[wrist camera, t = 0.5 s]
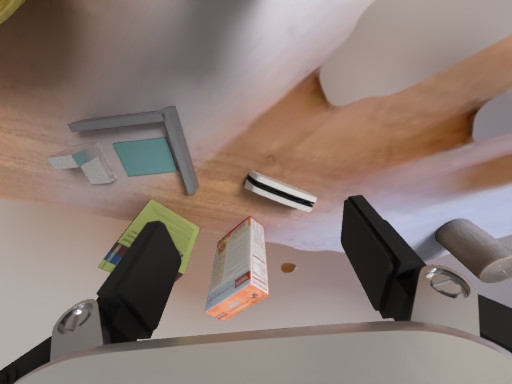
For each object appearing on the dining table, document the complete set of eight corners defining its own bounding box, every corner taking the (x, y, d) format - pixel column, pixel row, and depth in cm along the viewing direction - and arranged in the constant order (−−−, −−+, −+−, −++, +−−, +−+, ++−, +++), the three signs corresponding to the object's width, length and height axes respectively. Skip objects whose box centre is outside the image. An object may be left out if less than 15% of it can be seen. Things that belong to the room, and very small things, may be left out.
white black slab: (242, 186, 51) (246, 196, 41) (249, 168, 50) (254, 174, 40) (300, 207, 54) (316, 221, 45) (307, 191, 54) (325, 201, 44)
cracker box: (232, 251, 63) (223, 323, 45) (217, 241, 60) (202, 313, 43) (265, 226, 58) (270, 297, 40) (250, 214, 55) (248, 284, 38)
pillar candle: (436, 247, 63) (484, 293, 50) (433, 227, 58) (484, 271, 45) (472, 234, 60) (532, 279, 47) (470, 212, 56) (536, 255, 43)
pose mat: (113, 143, 45) (112, 143, 44) (166, 137, 44) (165, 137, 44) (129, 175, 49) (128, 176, 48) (177, 170, 48) (177, 171, 48)
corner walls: (81, 117, 42) (65, 121, 38) (175, 105, 41) (168, 109, 37) (121, 192, 51) (112, 201, 48) (198, 185, 50) (194, 193, 47)
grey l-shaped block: (76, 145, 45) (46, 157, 38) (97, 142, 45) (71, 155, 38) (96, 180, 50) (73, 197, 43) (116, 178, 49) (95, 195, 43)
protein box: (150, 197, 52) (115, 241, 39) (200, 227, 58) (185, 274, 44) (133, 221, 56) (96, 268, 43) (181, 247, 62) (162, 295, 48)
